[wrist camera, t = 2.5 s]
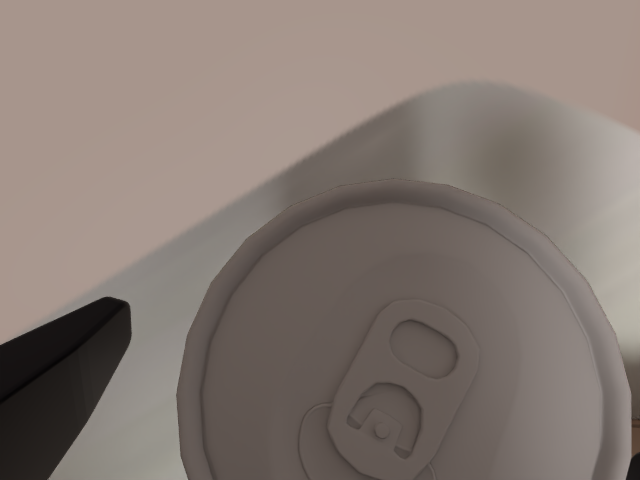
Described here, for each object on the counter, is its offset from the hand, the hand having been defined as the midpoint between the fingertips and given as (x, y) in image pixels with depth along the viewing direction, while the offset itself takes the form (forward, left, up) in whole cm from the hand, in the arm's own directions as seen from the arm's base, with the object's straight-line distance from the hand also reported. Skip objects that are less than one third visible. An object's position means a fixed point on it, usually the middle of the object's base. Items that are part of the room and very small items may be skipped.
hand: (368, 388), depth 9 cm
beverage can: (0, 0, -8) cm, 8 cm away
